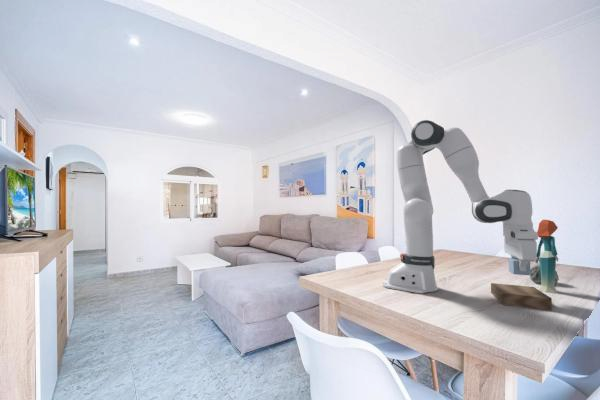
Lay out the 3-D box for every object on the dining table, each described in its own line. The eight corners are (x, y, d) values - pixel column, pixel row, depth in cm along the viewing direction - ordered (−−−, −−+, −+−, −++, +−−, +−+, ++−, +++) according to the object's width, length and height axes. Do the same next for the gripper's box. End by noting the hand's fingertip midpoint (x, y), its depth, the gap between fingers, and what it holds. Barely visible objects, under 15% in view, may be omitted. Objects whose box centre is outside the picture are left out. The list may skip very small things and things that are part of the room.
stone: (548, 263, 120) (542, 258, 128) (526, 275, 124) (522, 270, 132) (567, 281, 116) (560, 275, 125) (544, 293, 120) (539, 287, 129)
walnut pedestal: (502, 304, 96) (502, 293, 96) (491, 292, 109) (490, 283, 109) (551, 310, 91) (551, 298, 91) (533, 297, 104) (533, 286, 104)
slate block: (513, 274, 99) (513, 260, 99) (509, 271, 103) (508, 258, 104) (530, 275, 97) (530, 261, 97) (525, 272, 102) (524, 259, 102)
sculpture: (568, 295, 106) (567, 220, 106) (548, 294, 107) (547, 220, 108) (545, 286, 118) (544, 218, 119) (528, 285, 120) (526, 218, 120)
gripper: (499, 229, 112) (500, 263, 111) (517, 234, 93) (519, 274, 92) (517, 230, 109) (518, 264, 109) (540, 235, 90) (542, 276, 90)
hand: (519, 269), depth 100 cm, fingers closed on slate block, 5 cm apart
